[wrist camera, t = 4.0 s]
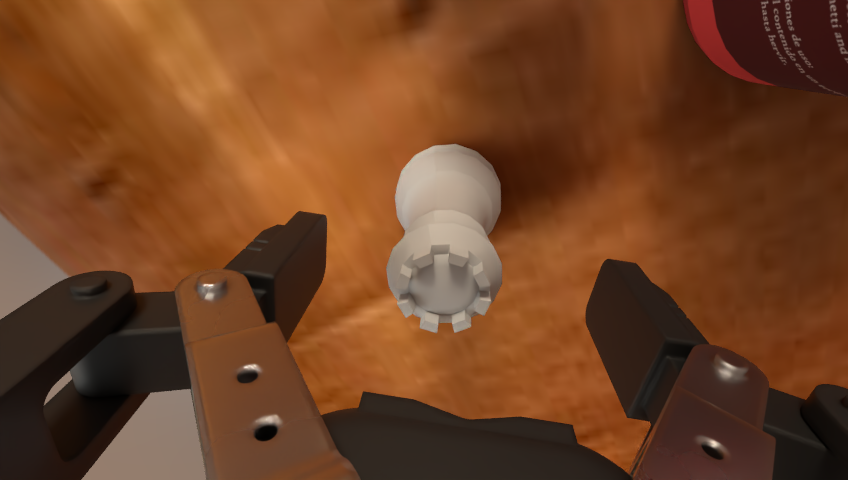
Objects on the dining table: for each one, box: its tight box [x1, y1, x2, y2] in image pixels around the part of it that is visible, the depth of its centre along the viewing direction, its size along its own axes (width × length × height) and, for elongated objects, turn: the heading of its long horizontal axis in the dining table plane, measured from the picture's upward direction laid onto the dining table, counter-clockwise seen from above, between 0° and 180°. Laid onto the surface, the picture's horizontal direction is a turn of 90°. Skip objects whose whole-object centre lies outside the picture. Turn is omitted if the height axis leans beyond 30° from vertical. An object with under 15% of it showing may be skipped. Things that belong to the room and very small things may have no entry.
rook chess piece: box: [386, 144, 502, 333], centre depth 14 cm, size 4×4×8 cm
